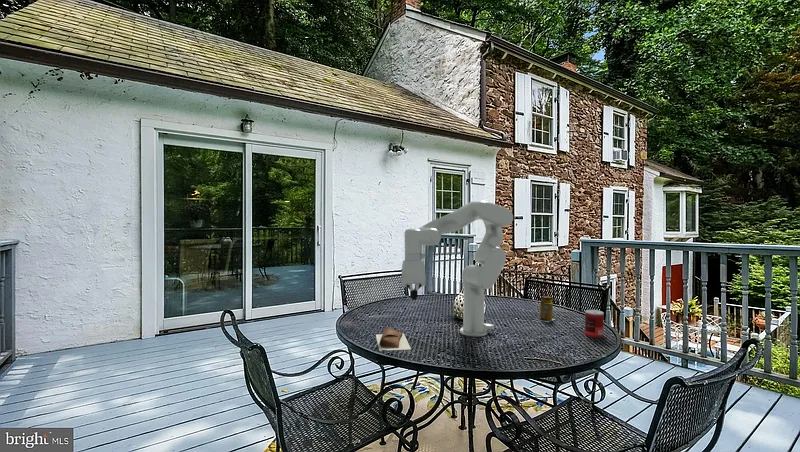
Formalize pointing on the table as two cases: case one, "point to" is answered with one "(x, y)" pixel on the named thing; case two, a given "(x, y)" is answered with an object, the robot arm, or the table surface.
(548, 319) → the condiment
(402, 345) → the mat
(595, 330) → the canned food
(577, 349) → the table surface
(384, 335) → the sunglasses case
